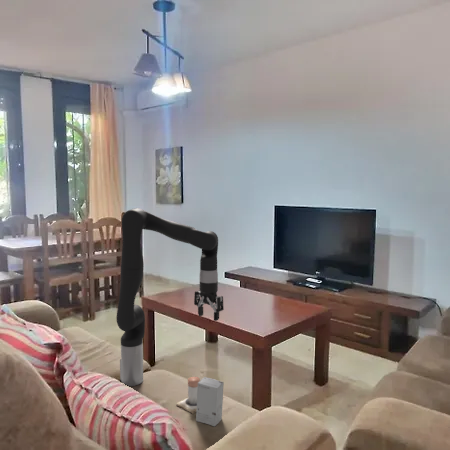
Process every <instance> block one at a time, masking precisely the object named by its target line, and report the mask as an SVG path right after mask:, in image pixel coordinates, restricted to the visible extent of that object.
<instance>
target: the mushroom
mask: <svg viewBox="0 0 450 450" xmlns="http://www.w3.org/2000/svg"><path fill="white" fill-rule="evenodd" d="M200 380H201V379H200V377H197V376H191V377H188V378H187V397H188V403H190V404H197V390H198V382H199V381H200Z"/></svg>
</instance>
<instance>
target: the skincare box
mask: <svg viewBox="0 0 450 450" xmlns="http://www.w3.org/2000/svg"><path fill="white" fill-rule="evenodd" d="M223 402H224V381H221V380H218V379H215V378H210V377H206V376H203V378H201V379H200V381H199V382H198V390H197V410H196V412H195V415H196V416H195V421H196V422H199V423H202V424H207V425H209V426H212V427H216V426H217V425H218V424H219V423H220V422H221V420H222V419H223Z"/></svg>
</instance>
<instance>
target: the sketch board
mask: <svg viewBox="0 0 450 450" xmlns="http://www.w3.org/2000/svg"><path fill="white" fill-rule="evenodd" d="M176 406H177V407H179V408H181V409H183V410H185V411H187V412H189V413H191V414H196V410H197V404H190V403H188V396H187V397H185V398H183V399H182V400H180V401H178V402H176Z"/></svg>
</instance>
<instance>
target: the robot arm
mask: <svg viewBox="0 0 450 450" xmlns="http://www.w3.org/2000/svg"><path fill="white" fill-rule="evenodd" d="M142 230H146V231H152V232H155V233H159V234H161V235H163V236H165V237H167V238H169V239H171V240H175V241H178V242H182V243H184V244H185V243H186V244H189V245H191V246H194V247H196V248H197V249H198V248H199V249H201V255H200V260H199V262H200V263H199V264H200V265H199V266H200V267H199V268H200V269H199V290H196V291H194V298H193V303H194V306H197V315H198V316H199V317H203V316H204V305H208V306H210V307H211V308H212V310H213V321H215V322H216V321H219V320H220V312H223V311H224V296H222V295H221V296H220V295H219V296H218V290H219V286H218V284H219V274H218V273H219V272H218V251H219V250H218V249H219V237H218V234H217V233H216V232H214V231H211V230H208V231H202V230H199V229H196V228H195V227H193V226H190V225H186V224H183V223H181V222H180V223H179V222H175V221H172V220H170V219H169V220H168V219H165V218H162V217H161V216H160V217H159V216H157V215H155V214H153V213H151V212H148V211H146V210H144V209H141V208H140V207H138V208H137V207H136V208H132V209H129V210H126V211H125V212H124V213H123V215H122V218H121V233H122V235H121V236H122V249H121V261H120V281H119V296H118V303H117V309H116V317H115V319H116V323H117V326H118V328H119V329H120V330H121V331H123V332H124V333H123V334H122V335H121V337H120V360H119V375H120V376H119V380H120V381H121V383H124V384H126V385H128V386H127V387H134V386H138V385H141V384H142V383H143V382H144V345H143V343H144V342H143V340H144V336H145V333H146V332H145V329H146V328H145V327H146V316H145V315H146V314H145V312H144V310H143V308H142V307H141V306H140V305H138V304H135V301H136V297H137V294H138V292H139V290H140V287H141V285H142V282H143V279H144V257H143V252H142V247H141V239H142ZM124 384H123V385H124ZM126 385H125V386H126Z"/></svg>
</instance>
